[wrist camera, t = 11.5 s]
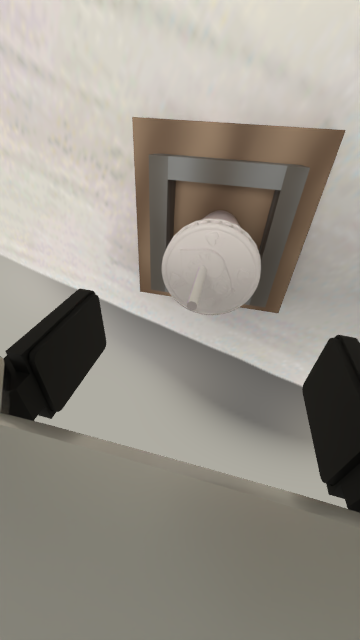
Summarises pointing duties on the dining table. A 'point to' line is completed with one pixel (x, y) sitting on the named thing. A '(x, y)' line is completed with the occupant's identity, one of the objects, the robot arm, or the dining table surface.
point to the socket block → (230, 191)
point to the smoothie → (212, 265)
